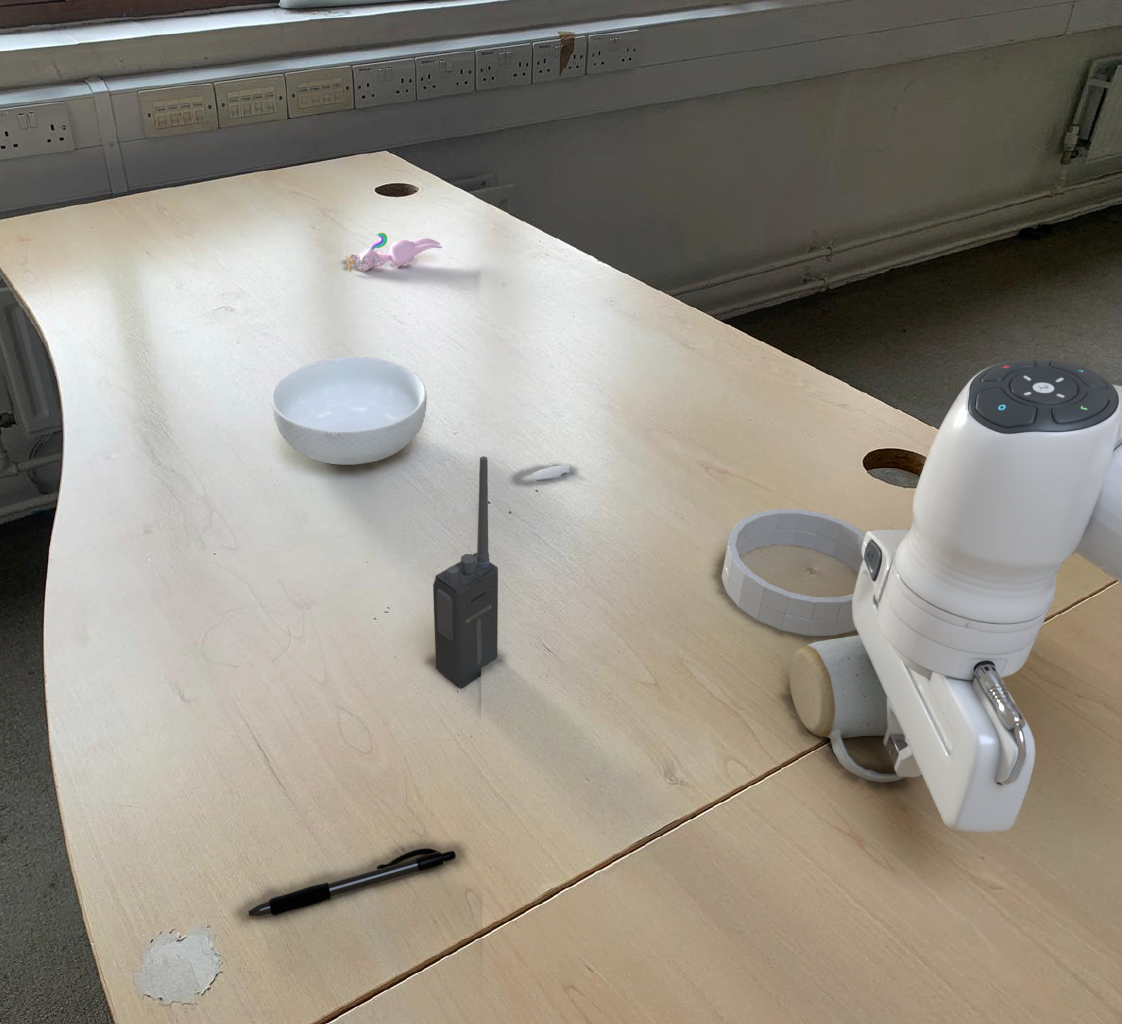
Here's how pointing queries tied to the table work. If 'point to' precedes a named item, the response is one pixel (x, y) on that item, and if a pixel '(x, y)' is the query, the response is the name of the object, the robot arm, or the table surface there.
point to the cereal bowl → (349, 409)
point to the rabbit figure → (390, 252)
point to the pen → (354, 882)
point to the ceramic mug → (840, 696)
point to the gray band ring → (778, 603)
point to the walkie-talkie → (468, 605)
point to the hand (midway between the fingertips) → (901, 760)
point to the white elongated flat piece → (550, 473)
